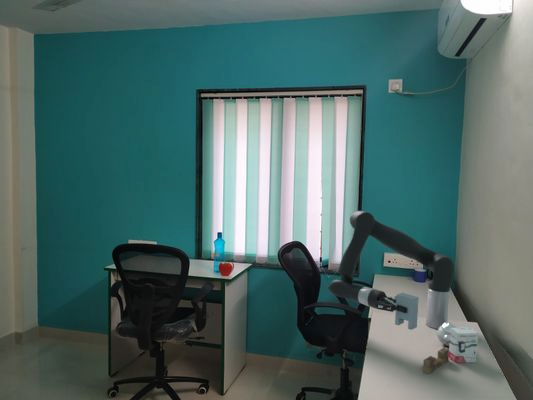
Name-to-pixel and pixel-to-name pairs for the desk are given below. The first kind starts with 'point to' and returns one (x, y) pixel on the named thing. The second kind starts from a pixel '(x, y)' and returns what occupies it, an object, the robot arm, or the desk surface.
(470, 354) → the ink box
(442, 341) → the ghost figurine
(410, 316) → the notched block
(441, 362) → the notched rail
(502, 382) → the desk surface
